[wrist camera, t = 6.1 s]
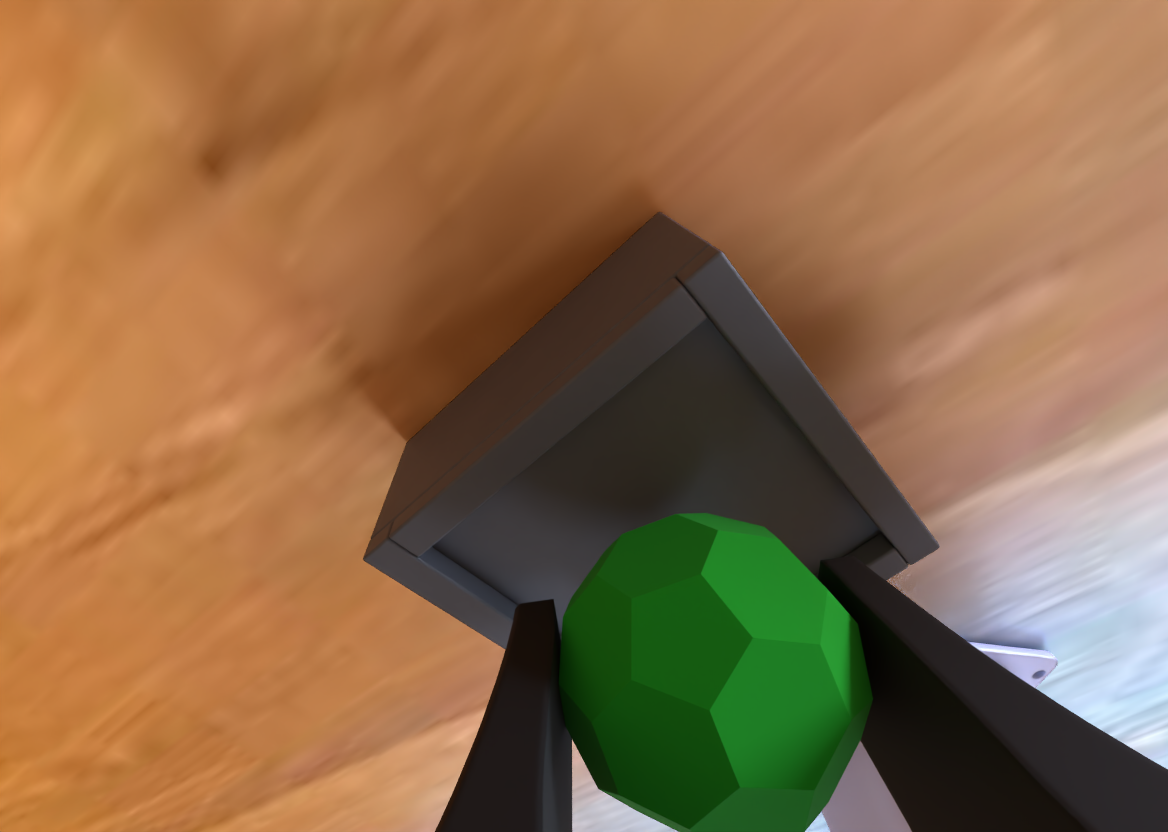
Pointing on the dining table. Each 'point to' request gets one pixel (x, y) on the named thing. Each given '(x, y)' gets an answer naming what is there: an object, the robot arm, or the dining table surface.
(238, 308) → the dining table surface
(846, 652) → the polyhedron
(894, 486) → the grey box
